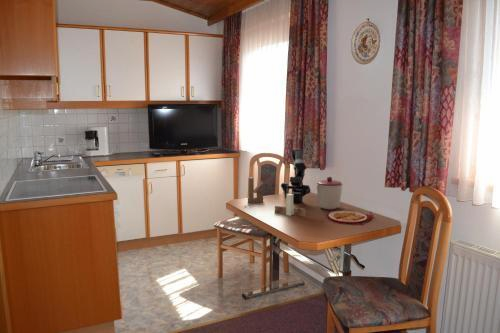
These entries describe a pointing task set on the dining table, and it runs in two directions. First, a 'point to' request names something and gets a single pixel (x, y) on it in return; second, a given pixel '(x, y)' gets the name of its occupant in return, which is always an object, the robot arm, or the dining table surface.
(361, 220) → the plate with food
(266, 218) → the dining table surface
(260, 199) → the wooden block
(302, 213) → the walnut slotted plate
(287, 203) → the sage plank
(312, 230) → the dining table surface
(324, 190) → the canister
